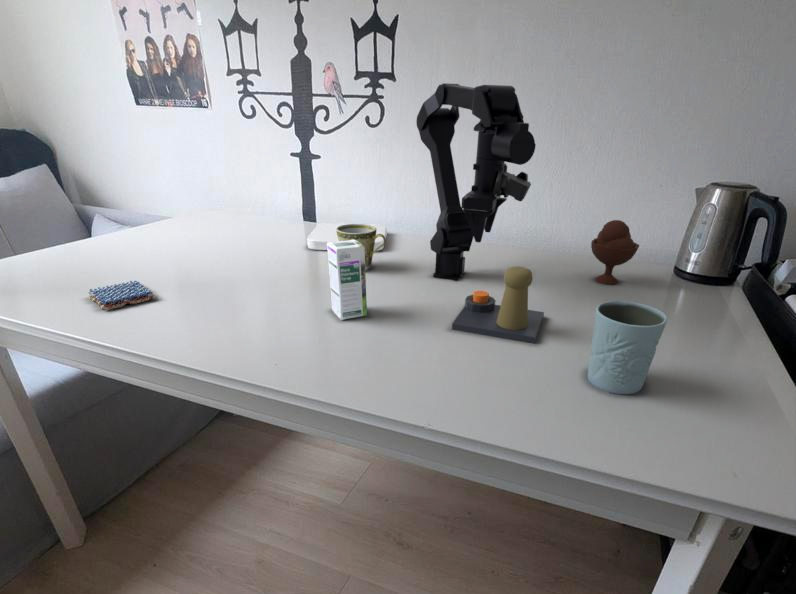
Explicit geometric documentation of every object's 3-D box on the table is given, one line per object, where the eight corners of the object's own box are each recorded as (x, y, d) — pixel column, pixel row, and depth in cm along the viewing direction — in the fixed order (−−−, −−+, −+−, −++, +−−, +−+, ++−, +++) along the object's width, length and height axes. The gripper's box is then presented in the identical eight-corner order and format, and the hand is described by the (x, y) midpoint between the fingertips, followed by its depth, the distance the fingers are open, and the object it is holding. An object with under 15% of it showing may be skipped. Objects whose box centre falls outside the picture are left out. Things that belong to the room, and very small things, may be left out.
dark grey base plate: (451, 329, 95) (452, 315, 93) (468, 305, 106) (469, 292, 104) (534, 344, 90) (536, 329, 89) (543, 317, 101) (545, 303, 100)
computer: (382, 252, 138) (382, 242, 137) (305, 250, 138) (304, 240, 137) (387, 233, 157) (387, 224, 156) (319, 231, 157) (319, 222, 156)
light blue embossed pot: (639, 404, 74) (661, 332, 67) (573, 384, 78) (588, 315, 72) (650, 376, 81) (672, 309, 75) (589, 359, 85) (605, 295, 79)
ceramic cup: (331, 270, 124) (328, 230, 119) (350, 259, 132) (348, 222, 127) (377, 277, 120) (376, 236, 115) (393, 266, 128) (393, 227, 123)
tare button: (471, 302, 100) (471, 294, 99) (474, 297, 103) (475, 289, 102) (486, 305, 99) (487, 296, 98) (489, 299, 102) (490, 291, 101)
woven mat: (139, 286, 110) (137, 278, 109) (157, 300, 104) (154, 291, 103) (88, 297, 104) (85, 288, 103) (103, 312, 98) (100, 303, 97)
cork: (529, 319, 96) (538, 265, 91) (525, 331, 91) (534, 275, 86) (499, 315, 98) (506, 261, 92) (493, 326, 93) (500, 271, 87)
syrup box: (341, 321, 97) (336, 248, 89) (331, 310, 101) (326, 240, 94) (367, 316, 99) (365, 245, 92) (356, 306, 104) (354, 237, 96)
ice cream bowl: (633, 290, 117) (650, 226, 109) (585, 285, 118) (598, 223, 111) (626, 276, 126) (641, 216, 118) (581, 272, 127) (593, 213, 120)
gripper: (523, 166, 87) (512, 252, 95) (537, 156, 102) (526, 231, 111) (463, 162, 90) (457, 246, 99) (485, 153, 106) (479, 226, 114)
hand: (483, 237), depth 105 cm, fingers open, 9 cm apart
